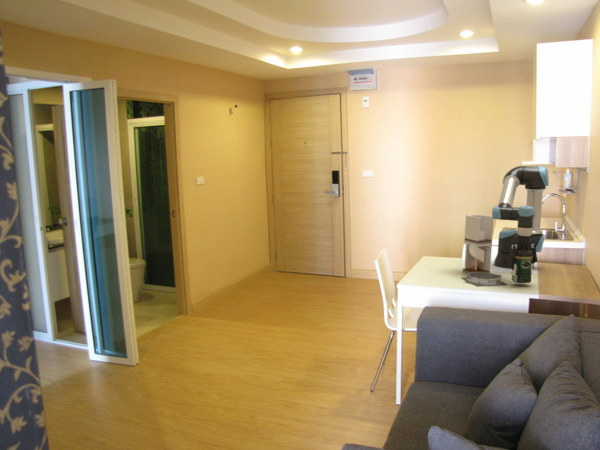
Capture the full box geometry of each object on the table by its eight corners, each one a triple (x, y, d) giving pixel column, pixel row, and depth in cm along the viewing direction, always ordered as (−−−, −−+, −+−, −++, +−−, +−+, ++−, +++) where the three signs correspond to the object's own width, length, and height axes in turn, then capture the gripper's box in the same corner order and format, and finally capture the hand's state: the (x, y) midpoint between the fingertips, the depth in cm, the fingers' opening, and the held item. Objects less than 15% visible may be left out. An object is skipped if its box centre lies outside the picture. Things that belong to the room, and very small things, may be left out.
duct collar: (491, 276, 296) (492, 271, 296) (509, 285, 279) (509, 278, 278) (459, 278, 293) (459, 272, 292) (474, 286, 275) (475, 280, 275)
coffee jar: (525, 279, 282) (527, 247, 279) (533, 283, 274) (535, 250, 271) (509, 280, 281) (511, 247, 278) (516, 284, 273) (518, 250, 270)
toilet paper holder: (462, 271, 308) (465, 215, 303) (476, 270, 312) (479, 214, 307) (476, 276, 298) (479, 217, 293) (489, 274, 302) (493, 216, 297)
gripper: (538, 232, 279) (535, 272, 283) (502, 234, 275) (499, 273, 279) (547, 235, 272) (543, 275, 275) (509, 236, 268) (507, 277, 272)
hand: (521, 274), depth 277 cm, fingers closed on coffee jar, 9 cm apart
